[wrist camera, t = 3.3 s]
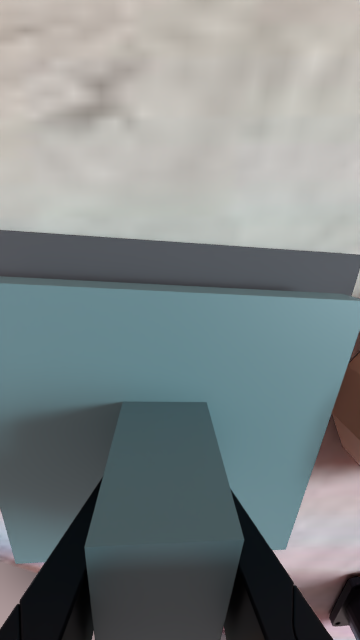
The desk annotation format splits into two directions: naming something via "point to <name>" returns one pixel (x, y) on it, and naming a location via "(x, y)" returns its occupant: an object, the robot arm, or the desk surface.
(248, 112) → the desk surface
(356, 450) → the bowl
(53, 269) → the mat
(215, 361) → the lid
